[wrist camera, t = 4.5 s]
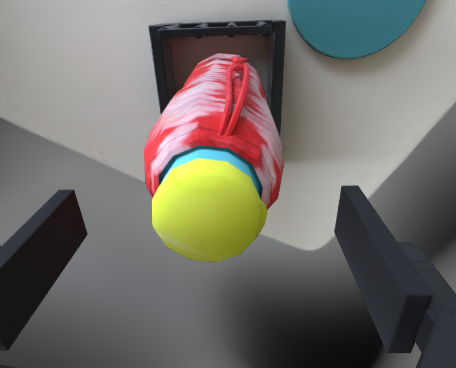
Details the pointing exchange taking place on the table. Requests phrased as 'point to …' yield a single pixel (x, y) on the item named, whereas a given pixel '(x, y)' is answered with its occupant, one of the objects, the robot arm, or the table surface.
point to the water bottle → (214, 161)
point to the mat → (352, 24)
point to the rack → (164, 32)
